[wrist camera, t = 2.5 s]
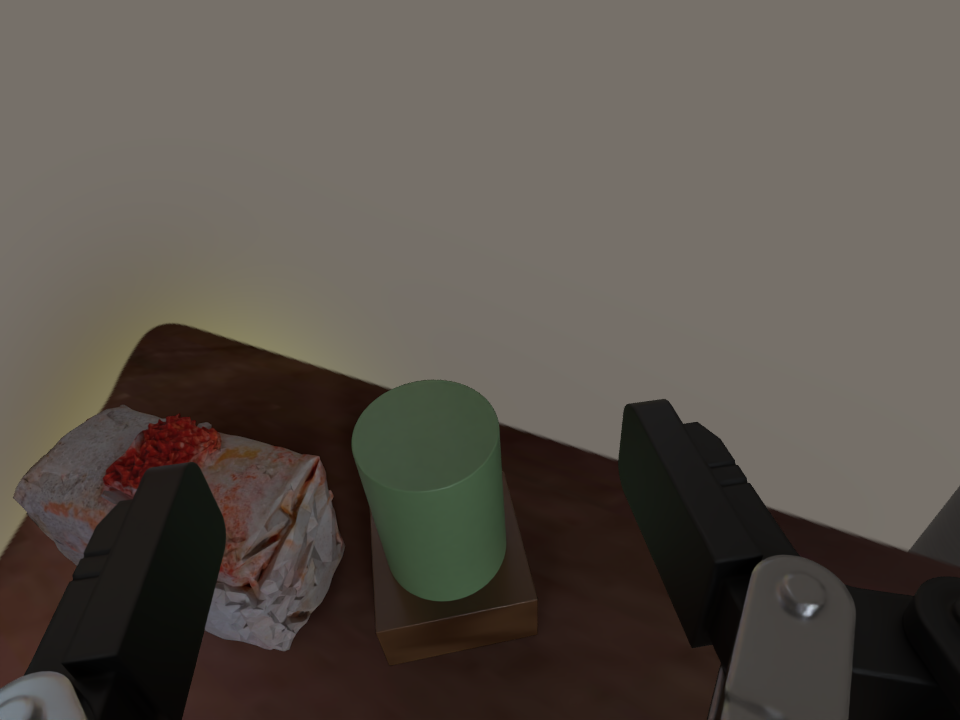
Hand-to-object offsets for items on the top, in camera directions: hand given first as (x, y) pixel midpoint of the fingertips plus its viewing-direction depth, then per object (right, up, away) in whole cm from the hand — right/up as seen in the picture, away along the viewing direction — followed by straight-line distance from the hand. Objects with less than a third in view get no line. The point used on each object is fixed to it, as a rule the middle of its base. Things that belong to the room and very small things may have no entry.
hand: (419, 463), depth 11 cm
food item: (-12, -9, +20) cm, 25 cm away
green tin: (0, -7, +17) cm, 18 cm away
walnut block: (0, -9, +19) cm, 21 cm away
